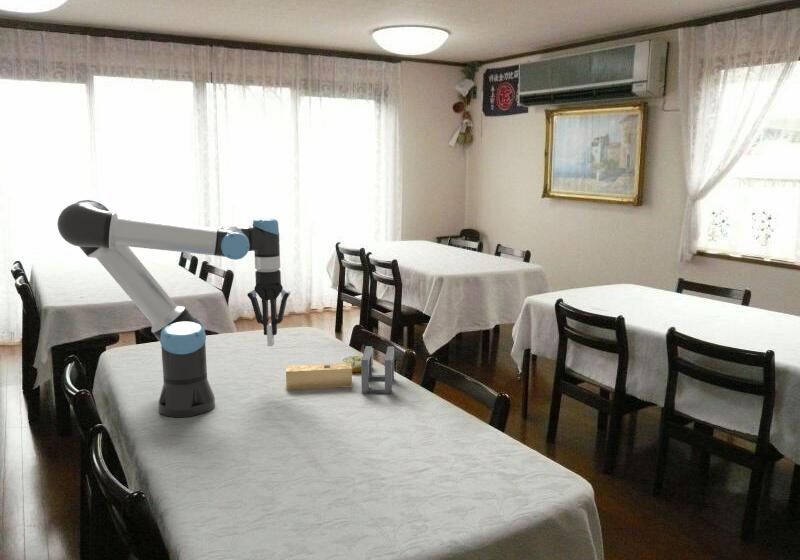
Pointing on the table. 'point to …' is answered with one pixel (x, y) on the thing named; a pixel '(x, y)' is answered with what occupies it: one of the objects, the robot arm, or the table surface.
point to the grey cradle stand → (367, 375)
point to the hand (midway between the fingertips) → (270, 344)
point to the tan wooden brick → (318, 376)
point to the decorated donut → (354, 362)
